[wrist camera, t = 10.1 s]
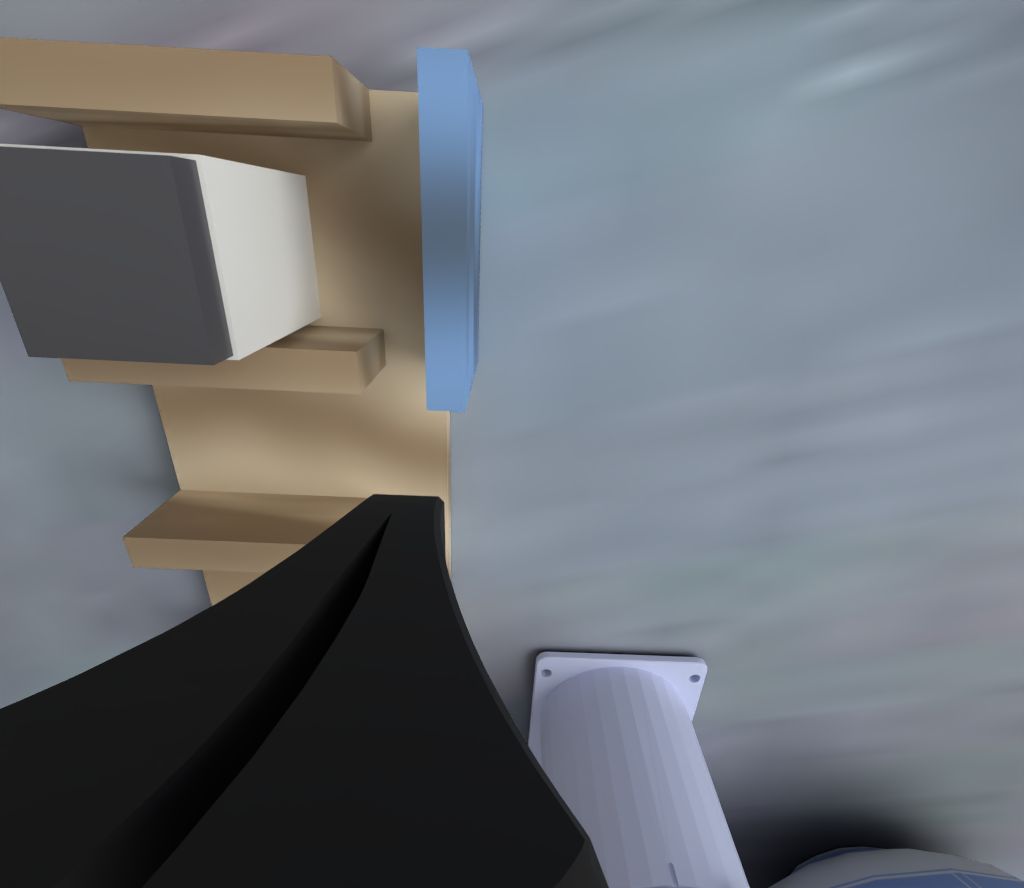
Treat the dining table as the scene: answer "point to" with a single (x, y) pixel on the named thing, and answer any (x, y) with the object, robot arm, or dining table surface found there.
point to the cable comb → (340, 277)
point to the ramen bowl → (895, 871)
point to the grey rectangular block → (152, 254)
